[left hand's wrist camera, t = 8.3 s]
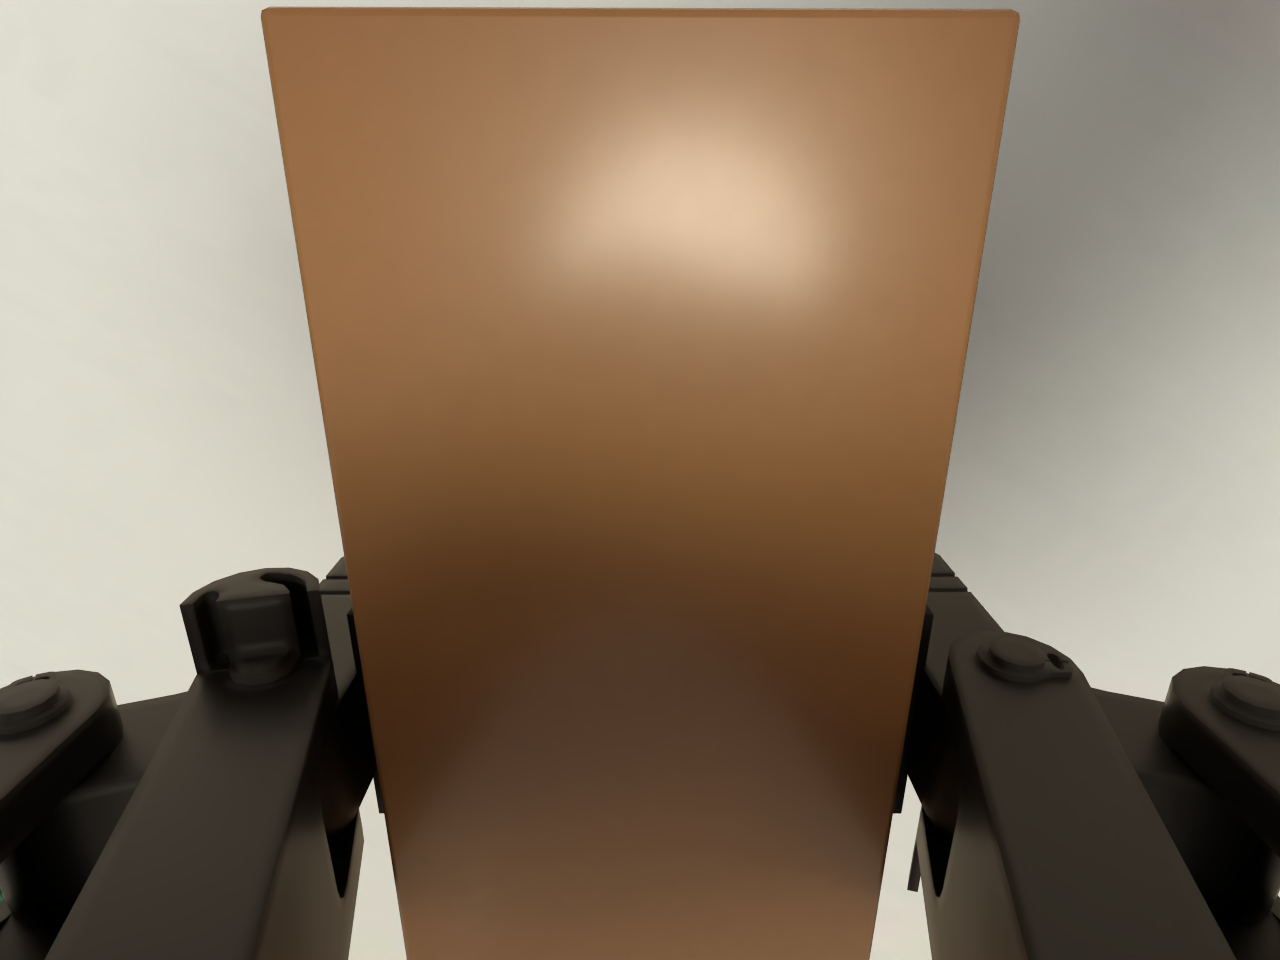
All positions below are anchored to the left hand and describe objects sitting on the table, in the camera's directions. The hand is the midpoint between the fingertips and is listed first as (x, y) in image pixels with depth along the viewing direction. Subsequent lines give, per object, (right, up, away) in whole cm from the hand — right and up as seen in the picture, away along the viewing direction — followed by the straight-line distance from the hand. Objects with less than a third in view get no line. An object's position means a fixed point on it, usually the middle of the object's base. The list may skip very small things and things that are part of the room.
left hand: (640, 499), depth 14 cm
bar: (0, -22, +9) cm, 23 cm away
